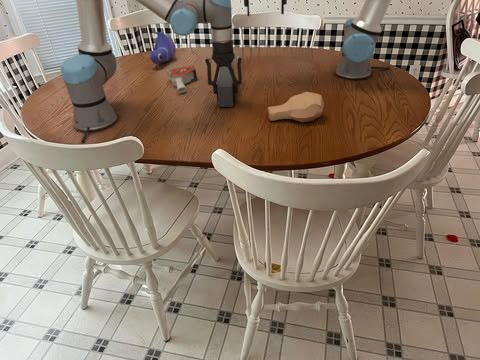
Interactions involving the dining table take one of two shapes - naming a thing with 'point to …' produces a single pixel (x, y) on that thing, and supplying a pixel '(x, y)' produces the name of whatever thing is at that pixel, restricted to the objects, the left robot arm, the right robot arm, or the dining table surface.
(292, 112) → the squash
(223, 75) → the bar
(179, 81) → the tape dispenser
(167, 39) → the toy
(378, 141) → the dining table surface
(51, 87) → the dining table surface
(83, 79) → the left robot arm
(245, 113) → the dining table surface
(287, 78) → the dining table surface
